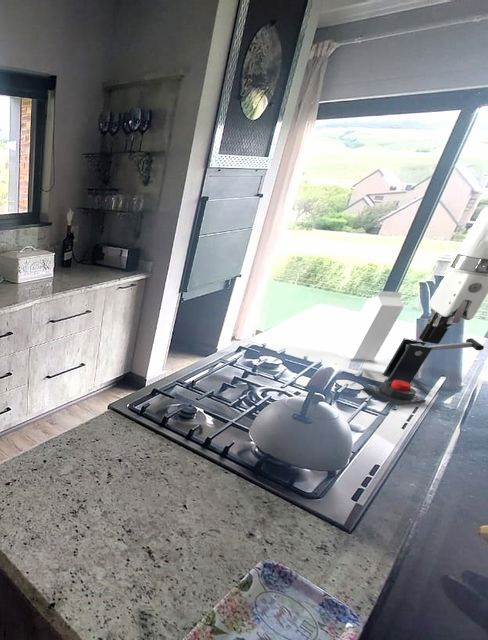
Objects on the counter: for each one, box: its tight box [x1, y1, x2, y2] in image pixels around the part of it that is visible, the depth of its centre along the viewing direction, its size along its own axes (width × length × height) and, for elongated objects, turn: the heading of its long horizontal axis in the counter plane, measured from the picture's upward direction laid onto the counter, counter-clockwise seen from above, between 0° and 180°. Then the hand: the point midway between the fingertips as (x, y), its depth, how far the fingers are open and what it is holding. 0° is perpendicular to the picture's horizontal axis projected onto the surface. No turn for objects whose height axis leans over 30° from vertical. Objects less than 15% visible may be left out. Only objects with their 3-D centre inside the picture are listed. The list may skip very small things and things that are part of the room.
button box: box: [365, 380, 427, 411], centre depth 105 cm, size 9×8×4 cm
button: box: [391, 380, 412, 392], centre depth 104 cm, size 3×3×2 cm
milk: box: [340, 290, 405, 361], centre depth 122 cm, size 6×6×22 cm
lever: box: [406, 338, 485, 352], centre depth 106 cm, size 13×5×2 cm, turn 63°
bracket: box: [382, 337, 433, 384], centre depth 111 cm, size 11×9×13 cm
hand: (428, 341), depth 98 cm, fingers closed
